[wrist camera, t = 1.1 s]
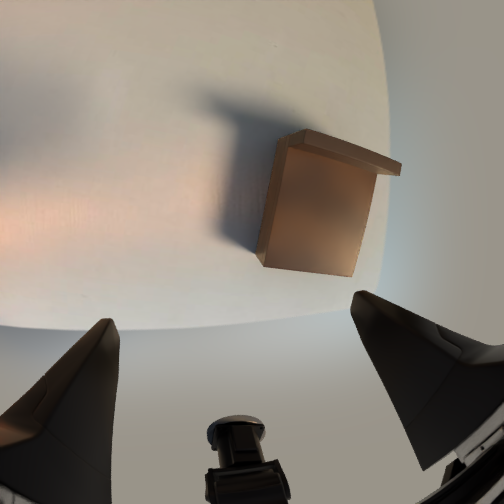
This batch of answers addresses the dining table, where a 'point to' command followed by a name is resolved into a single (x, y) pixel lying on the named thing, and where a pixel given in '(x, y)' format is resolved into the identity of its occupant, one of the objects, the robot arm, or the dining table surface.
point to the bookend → (319, 203)
